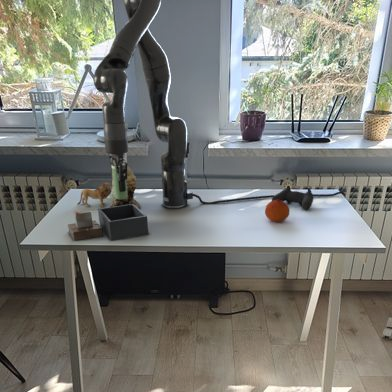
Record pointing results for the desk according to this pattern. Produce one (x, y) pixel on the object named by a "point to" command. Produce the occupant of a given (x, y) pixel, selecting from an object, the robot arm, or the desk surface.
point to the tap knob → (83, 218)
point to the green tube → (116, 186)
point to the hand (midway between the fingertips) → (120, 189)
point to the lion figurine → (96, 194)
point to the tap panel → (85, 231)
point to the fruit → (277, 211)
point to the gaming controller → (295, 197)
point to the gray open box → (123, 221)
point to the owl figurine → (130, 191)
